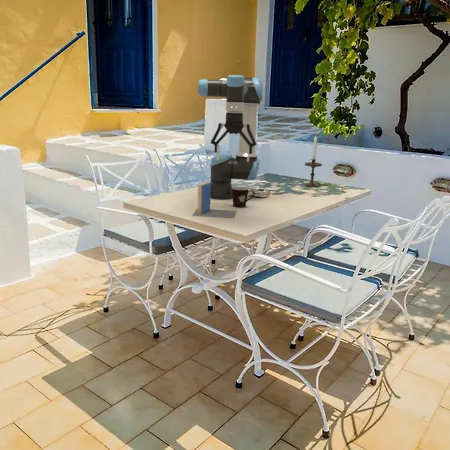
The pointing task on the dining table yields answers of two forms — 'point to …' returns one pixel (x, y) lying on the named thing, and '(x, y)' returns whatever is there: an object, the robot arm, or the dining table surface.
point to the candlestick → (313, 165)
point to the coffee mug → (240, 196)
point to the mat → (216, 213)
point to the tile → (204, 197)
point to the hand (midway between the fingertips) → (232, 160)
